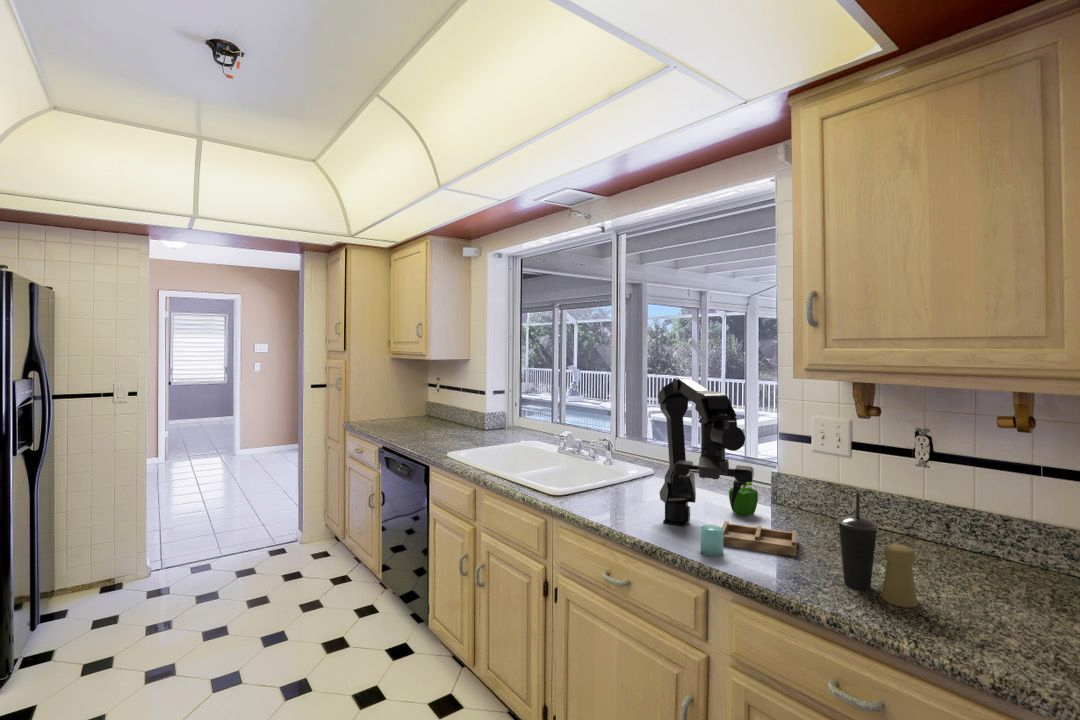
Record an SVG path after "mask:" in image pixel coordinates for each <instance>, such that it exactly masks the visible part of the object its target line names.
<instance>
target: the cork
mask: <svg viewBox="0 0 1080 720" xmlns="http://www.w3.org/2000/svg"><path fill="white" fill-rule="evenodd" d="M883 554H884V558H885V560H886V561H887V562H886V566H885V567H886V568H885V573H884V579H883V585H882V591H881V598H882V600H884V601H885V602H886V603H888V604H890V605H894V606H897V607H901V608H916V607H917V606H918V599H917V592H916V586H915V585H916V584H915V579H914V572H913V565H914V564H915V561H916V554H915V552H914V550H913V549H912V548H910V547H908V546H906V545H901V544H894V543H893V544H888V545H886V546H885V547H884V551H883Z"/></svg>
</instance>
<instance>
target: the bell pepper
mask: <svg viewBox="0 0 1080 720" xmlns="http://www.w3.org/2000/svg"><path fill="white" fill-rule="evenodd" d="M752 485H753V482H747V485H742V486H741V488H740V490H739V492H738V494H737V497H736V500H735V503H734V506H733V507H731V506H730V507H731V510H732V512H733V514H736V515H737V516H741V517H750V516H751V515H754V514H755V512H756V510H757V506H758V502H759V493H758V491H757V490H756V489H754V488H752ZM747 486H749V487H747ZM750 486H751V487H750ZM732 493H733V487H730V489H729V491H728V498H729V499H728V500H729V503H730V505H731V500H732Z"/></svg>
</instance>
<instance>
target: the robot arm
mask: <svg viewBox="0 0 1080 720" xmlns="http://www.w3.org/2000/svg"><path fill="white" fill-rule="evenodd" d="M657 400H658V401H657V402H658V404H659V408H660V411H661V412H662V414H663V416H664V417H665V418H666V431H667V445H668V447H667V448H668V449H667V450H668V461H669V462H668V463H669V468H668V470H667V471H666V473H665V475H664V483H663V485H662V487H661V488H660V491H659V499H660V501H662V502H663V503H664V519H663V520H662V523H664V524H670V525H676V526H682V527H684V526H685V527H686V526H687V525H688V523H689V522H690V521H691V506H689V503H696V501H697V496H696V495H697V493H696V483H695V482H696V481H695V480H696V479H695V473H696V474H698V477H699V478H701V479H705V478H706V479H712V480H719V479H720V478H721V476H727V477H734V480H733V485H732V486H733V487H732V488H733V493H732V500H731V504H730V507H733V506H734V503H735V500H736V497H737V494H738V492H739V490H740V488H742V486H743V485H747V482H751V483H753V480H754V477H755V476H754V475H755V474H754V473H755V472H754V469H755V468H754V467H752V466H747V465H736V466H735V468H730V465H729V464H730V463H729V458H726V450H729V451H731V452H733V451H738V450H740V449H741V448H742V447H743V446H744V445H745V442H746V435H745V433H744V431H743V430H742V429H741V428H740V427H738V421H737V420H738V419H737V417H736V416H737V414H736V412H735V410H734V408H733V405H732V403H731V400H730V398H729V396H728V395H727V394H726V393H725V392H724V393H723V392H720V391H713V390H708V389H707V388H705V387H704V386H702V385H701V384H699V383H697V382H696V381H694V379H693V378H691V377H689V376H687V377H685V376H684V377H681V376H680V377H679V376H678V377H676V378H673V380H672V381H671V382H669V383H668V384H666V385H664V386H663V387H662V388H661V390H660V391H659V392H658V395H657ZM690 401H691V402H692V403H693V404H695V411H696V412H697V413H698V414H699V416H700V418H699V420H698V423H699V424H701V425H700V426H701V427H700V429H701V431H700V432H701V433H700V437H701V438H700V441H701V442H700V451H701V453H700V456H699V460H698V465H696V464H694V463H693V461H692V460H686V459H687V458H686V443H685V429H684V427H685V426H684V417H685V415H686V413H687V411H688V410H689V402H690ZM747 486H748V485H747Z"/></svg>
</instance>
